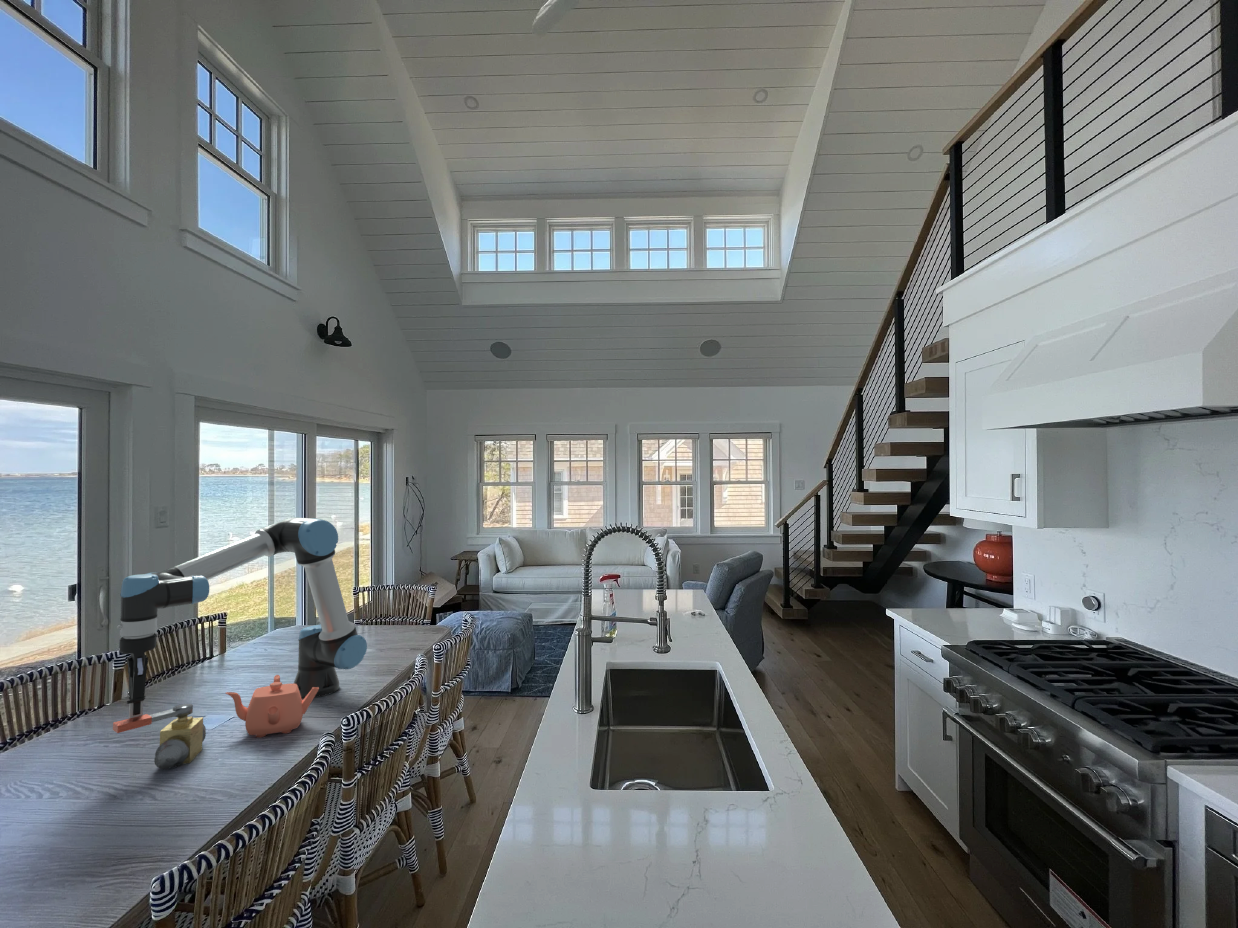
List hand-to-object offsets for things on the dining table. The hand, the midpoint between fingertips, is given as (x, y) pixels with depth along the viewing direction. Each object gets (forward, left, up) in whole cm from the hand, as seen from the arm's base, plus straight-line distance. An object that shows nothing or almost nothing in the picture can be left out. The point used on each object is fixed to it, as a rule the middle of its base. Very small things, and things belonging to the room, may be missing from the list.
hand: (135, 725), depth 155 cm
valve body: (-9, -4, -11) cm, 15 cm away
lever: (-4, 0, +1) cm, 4 cm away
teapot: (-27, -19, -11) cm, 35 cm away
